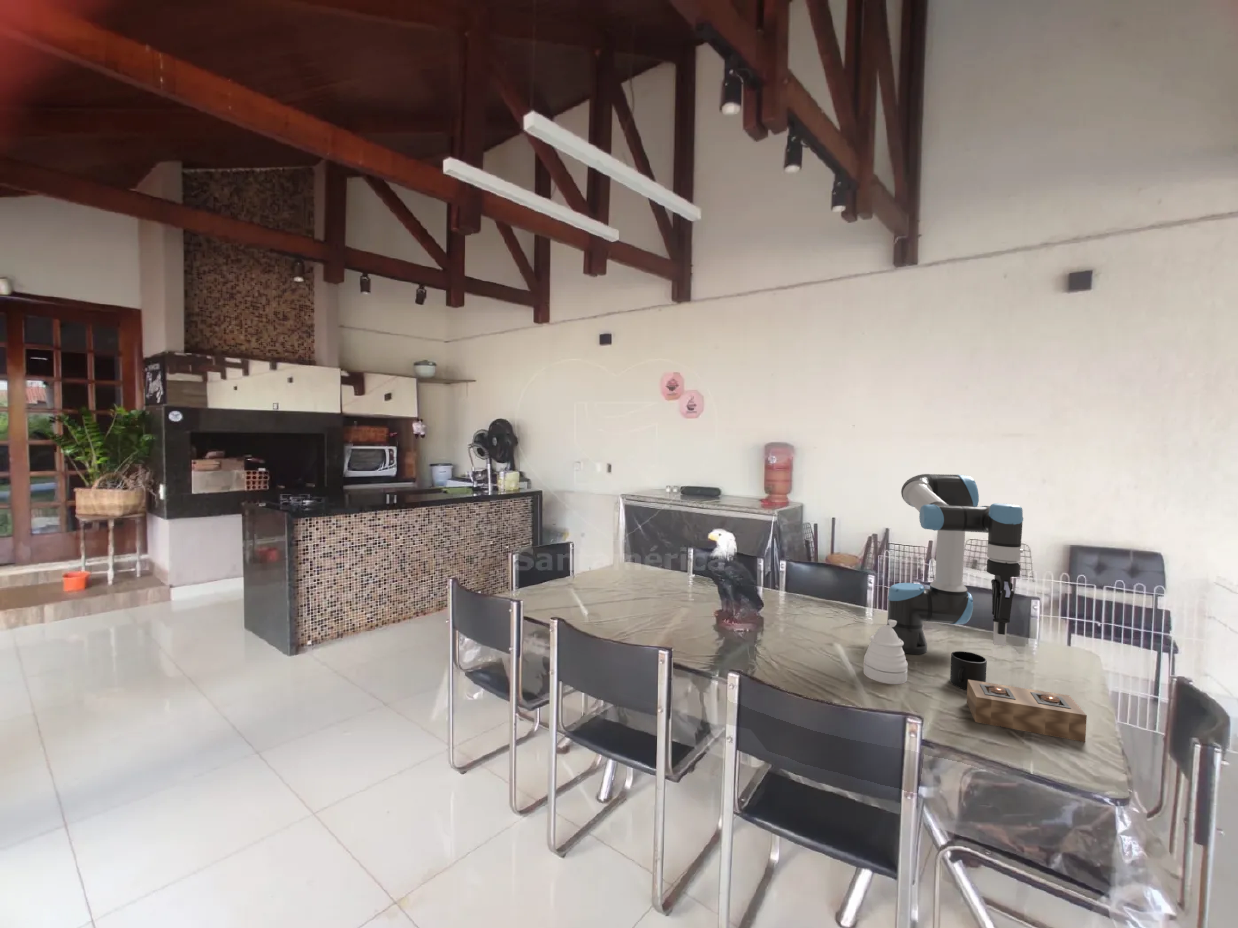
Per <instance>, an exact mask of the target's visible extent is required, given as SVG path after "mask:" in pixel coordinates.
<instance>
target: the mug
mask: <svg viewBox="0 0 1238 928" xmlns="http://www.w3.org/2000/svg"><path fill="white" fill-rule="evenodd" d="M987 661H988V660H987V658H985V657H984V656H983V655H982V656H981V655H980V654H977V653H973V652H969V651H962V650H957V651H953V652H951V653H950V675H949V678H950V679H949V681H950V683H951V684H952V685H953V686H955V687H957V688H959V689H962V690H965V691H967V684H968V680H975V681H981V682H987V663H988V662H987Z"/></svg>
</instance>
